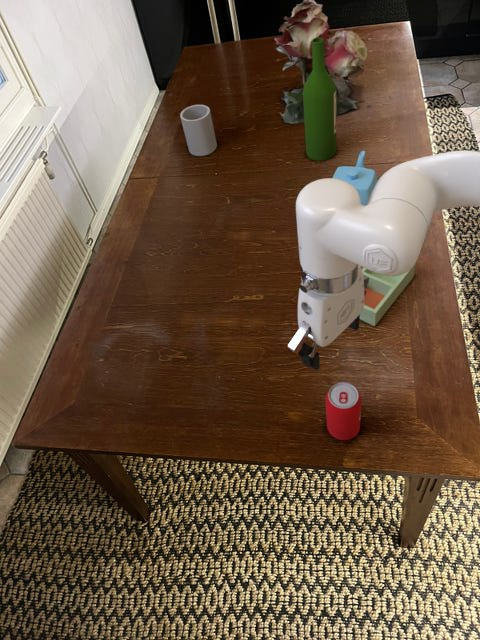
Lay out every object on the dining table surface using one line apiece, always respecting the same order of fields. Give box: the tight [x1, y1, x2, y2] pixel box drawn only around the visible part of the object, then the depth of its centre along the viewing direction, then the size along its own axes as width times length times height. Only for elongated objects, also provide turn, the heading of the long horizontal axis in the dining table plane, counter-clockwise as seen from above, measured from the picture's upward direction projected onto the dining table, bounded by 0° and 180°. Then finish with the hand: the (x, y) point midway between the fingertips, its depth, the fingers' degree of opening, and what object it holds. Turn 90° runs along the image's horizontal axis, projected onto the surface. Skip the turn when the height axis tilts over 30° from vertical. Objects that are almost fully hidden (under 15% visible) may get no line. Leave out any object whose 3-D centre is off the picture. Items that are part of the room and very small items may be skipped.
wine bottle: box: [302, 38, 337, 162], centre depth 145 cm, size 9×9×32 cm
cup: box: [179, 104, 218, 157], centre depth 164 cm, size 9×9×12 cm
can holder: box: [359, 262, 417, 327], centre depth 119 cm, size 9×17×5 cm, turn 141°
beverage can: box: [325, 382, 362, 441], centre depth 97 cm, size 6×6×12 cm
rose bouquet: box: [274, 0, 368, 125], centre depth 165 cm, size 26×29×30 cm
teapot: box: [332, 150, 379, 206], centre depth 136 cm, size 12×18×12 cm
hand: (330, 344), depth 83 cm, fingers open, 9 cm apart
